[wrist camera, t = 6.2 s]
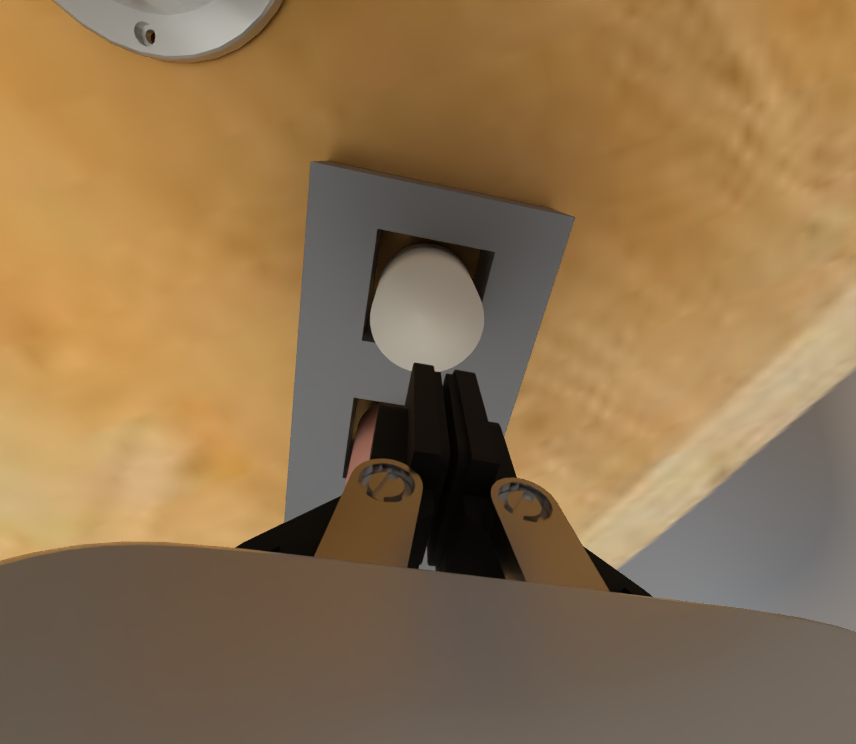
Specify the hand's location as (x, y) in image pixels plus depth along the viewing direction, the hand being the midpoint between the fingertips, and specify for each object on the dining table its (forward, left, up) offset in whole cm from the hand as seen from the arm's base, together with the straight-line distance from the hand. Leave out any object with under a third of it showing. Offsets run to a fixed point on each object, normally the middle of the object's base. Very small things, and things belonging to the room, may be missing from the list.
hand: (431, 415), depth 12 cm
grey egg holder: (+9, 0, -15) cm, 17 cm away
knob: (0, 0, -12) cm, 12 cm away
